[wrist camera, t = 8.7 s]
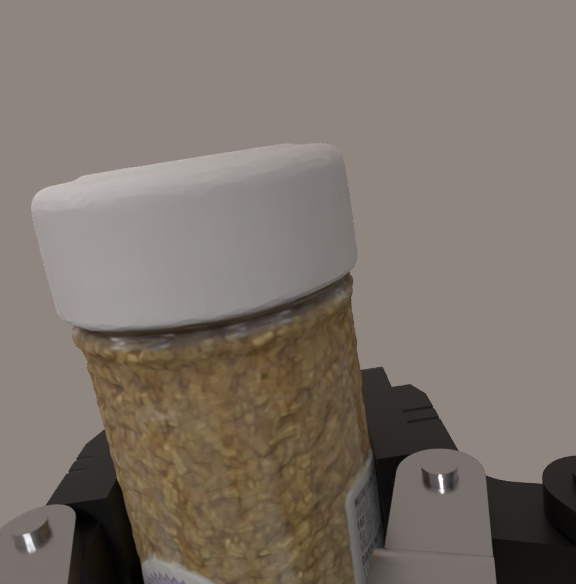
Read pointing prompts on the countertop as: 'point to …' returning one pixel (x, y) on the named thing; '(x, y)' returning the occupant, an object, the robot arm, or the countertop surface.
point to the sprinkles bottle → (224, 360)
